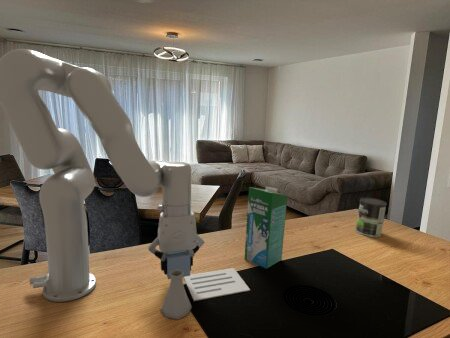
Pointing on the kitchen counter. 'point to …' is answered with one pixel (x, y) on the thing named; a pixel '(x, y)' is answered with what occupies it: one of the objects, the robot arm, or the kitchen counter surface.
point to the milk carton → (265, 226)
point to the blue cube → (178, 262)
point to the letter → (215, 284)
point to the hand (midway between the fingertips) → (177, 269)
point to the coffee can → (370, 217)
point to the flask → (176, 297)
